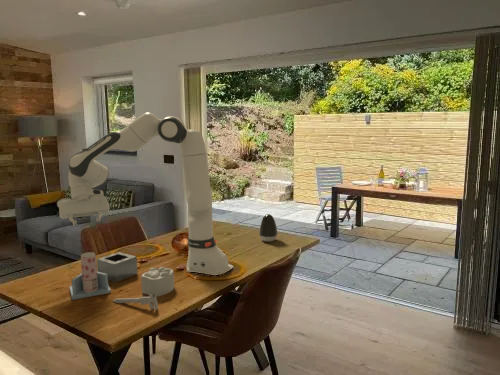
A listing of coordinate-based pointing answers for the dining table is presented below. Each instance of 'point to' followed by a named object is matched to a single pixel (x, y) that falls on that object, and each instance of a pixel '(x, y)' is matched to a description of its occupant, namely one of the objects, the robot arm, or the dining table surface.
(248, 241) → the dining table surface
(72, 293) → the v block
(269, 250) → the dining table surface
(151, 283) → the lumpy-topped squat cylinder
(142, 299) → the caliper
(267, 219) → the dark grey egg shape
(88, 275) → the beverage can
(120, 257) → the pocket block
